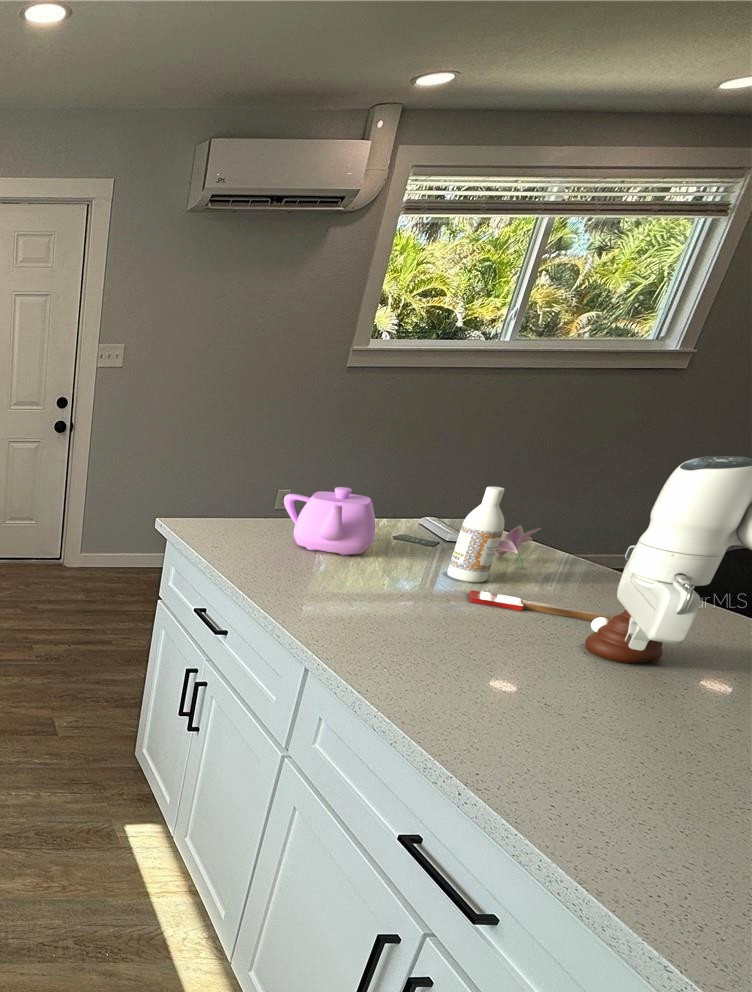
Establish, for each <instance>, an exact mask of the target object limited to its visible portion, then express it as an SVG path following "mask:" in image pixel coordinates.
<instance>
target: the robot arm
mask: <svg viewBox="0 0 752 992" xmlns="http://www.w3.org/2000/svg"><path fill="white" fill-rule="evenodd" d="M649 515H650V516H649V517H650V518H649V519H650V520H649V525H648V527H647V528H646V530H645V531H644V532H643V533H642V535H641V536H640V537H639V539H638V541H637V543H636V544H635V545H630V546H629V547H628V548H627V551H626V553H625V555H624V558H625V560H626V561H627V562H626V563H625V566H624V568H623V571H622V575H621V577H620V579H619V583H618V586H617V592H616V598H617V600H618V601H619V602H620V603H621V605H622V607H624V610H627V611H628V613H629V614H630V615H631V618H630V621H629V628H628V634H627V636H626V638H625V642H626V643H627V644H628V646H629V648H631V649H635V650H640V651H641V650H644V649H645V648H646V646H647V644H648V641H650V640H653V641H658V642H663V644H670V645H681V644H682V643H683V642H685V641H686V639H687V638H688V636H689V635H690V632H691V630H692V627H693V625H694V622H695V620H696V617H697V615H698V612H699V609H700V606H701V597H700V595H699V594H698V593H697V592H696V591H695V590H694V589H695V588H696V587H701V586H708V585H709V584H711V582H712V580H713V578H714V577H715V574H716V572H717V570H718V568H719V566H720V564H721V562H722V560H723V558H724V556H725V554H726V552H727V549H729V547H731V546H742V547H744V548H747V549H749V550H751V551H752V458H750V457H745V456H737V455H736V456H735V455H732V456H731V455H728V456H727V455H726V456H725V455H712V456H702V457H696V458H692V459H690V460H686V461H684V462H682V463H681V464H680V465H678V467H676V468H675V469H674V471H672V473H671V474H670V475H669V477H668V479H666V481H665V483H664V485H663V487H662V488H661V490H660V492H659V494H658V496H657V498H656V500H655V502H654V505H653V506H652V509H651V511H650V514H649Z"/></svg>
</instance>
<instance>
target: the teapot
mask: <svg viewBox="0 0 752 992" xmlns="http://www.w3.org/2000/svg"><path fill="white" fill-rule="evenodd" d="M352 491H353V489H352V488H350V487H345V486H343V487H342V486H338V487H337V486H336V487H334V491H323V490H322V491H321V490H320V491H316V492H315V493H313V494H312V496H311V497H309V496H306V495H302V494H298V493H287V494H286V495H285V496H284V498H283V504H284V507H285V510H286V512H287V514H288V515H289V517H290V519H291V520H292V521H293V523H294V528H293V538H294V541H295V543H296V544H297V545H298V546H301V547H304V548H305V549H307V550H310V551H322V552H328V553H335V554H339V555H342V556H351V555H361V554H364V552H366V550H367V549H369V547H370V546H371V545H372V544H373V542H374V540H375V536H376V535H375V534H376V515H375V511H374V504H373V502H372V501H373V500H372V499H371V498H370V496H366V495H361V494H355V493H352ZM296 501H301V502H305V505H304V506H303V508H302V509H301V510H300V513H299V515H297V512H296V509H295V502H296Z"/></svg>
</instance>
